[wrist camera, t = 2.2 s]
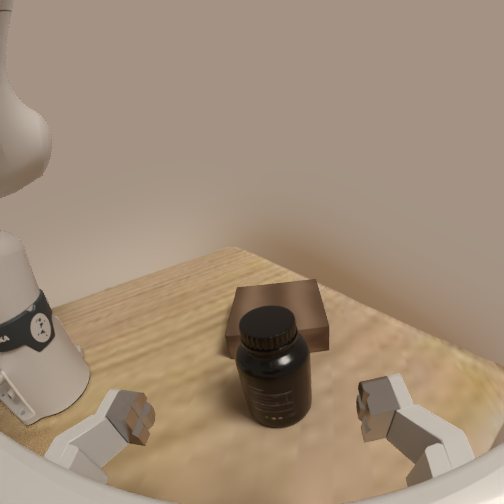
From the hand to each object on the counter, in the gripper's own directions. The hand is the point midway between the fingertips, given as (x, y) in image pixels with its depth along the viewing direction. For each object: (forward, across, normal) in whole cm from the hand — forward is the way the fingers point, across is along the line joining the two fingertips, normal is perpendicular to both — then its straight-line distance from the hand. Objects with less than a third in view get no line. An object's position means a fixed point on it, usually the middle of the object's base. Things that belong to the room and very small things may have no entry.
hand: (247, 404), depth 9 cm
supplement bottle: (+13, 0, +17) cm, 22 cm away
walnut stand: (+28, 0, +17) cm, 33 cm away
